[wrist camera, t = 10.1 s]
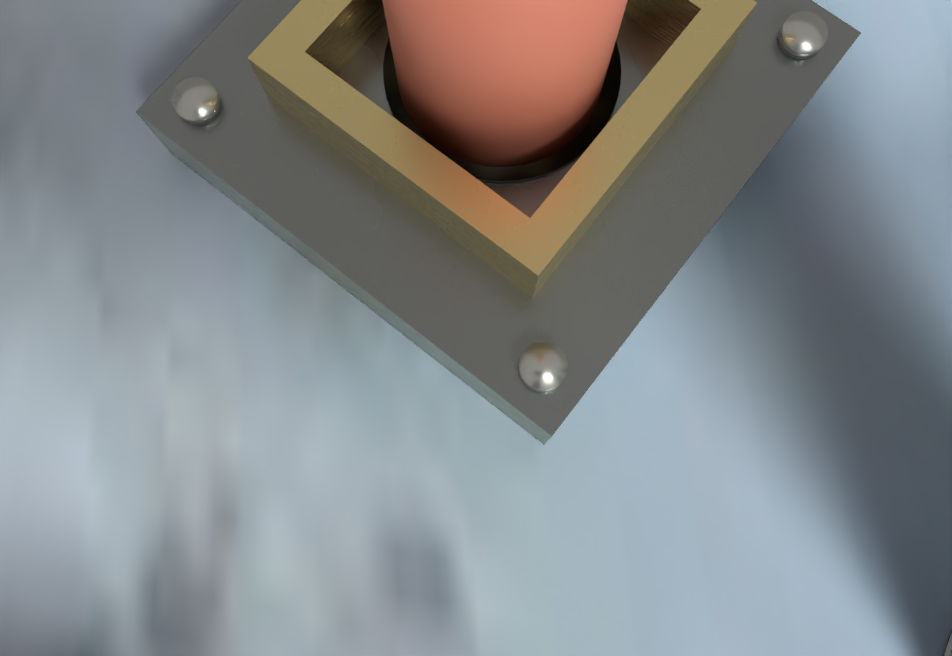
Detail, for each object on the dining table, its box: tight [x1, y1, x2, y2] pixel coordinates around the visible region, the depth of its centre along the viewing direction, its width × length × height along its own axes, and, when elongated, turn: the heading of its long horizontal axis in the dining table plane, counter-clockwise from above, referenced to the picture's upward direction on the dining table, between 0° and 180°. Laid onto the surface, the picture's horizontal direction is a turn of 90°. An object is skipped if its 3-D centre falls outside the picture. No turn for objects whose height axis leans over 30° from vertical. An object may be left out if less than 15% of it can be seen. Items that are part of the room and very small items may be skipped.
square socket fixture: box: [136, 0, 861, 444], centre depth 23 cm, size 14×14×4 cm
